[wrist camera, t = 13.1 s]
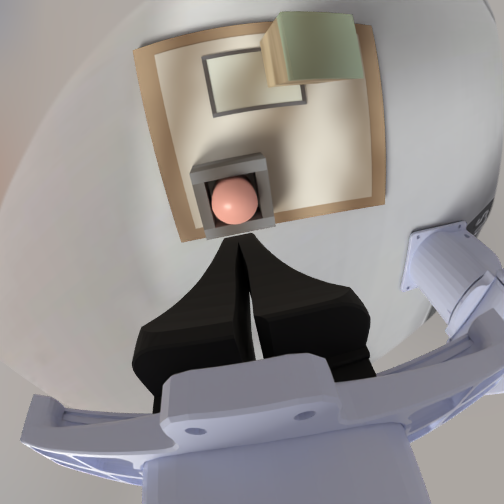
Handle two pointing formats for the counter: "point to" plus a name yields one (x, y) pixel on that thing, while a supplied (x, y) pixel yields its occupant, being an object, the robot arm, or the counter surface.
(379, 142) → the brown framed board
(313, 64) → the green topped wooden block
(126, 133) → the counter surface
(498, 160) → the counter surface
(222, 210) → the button
